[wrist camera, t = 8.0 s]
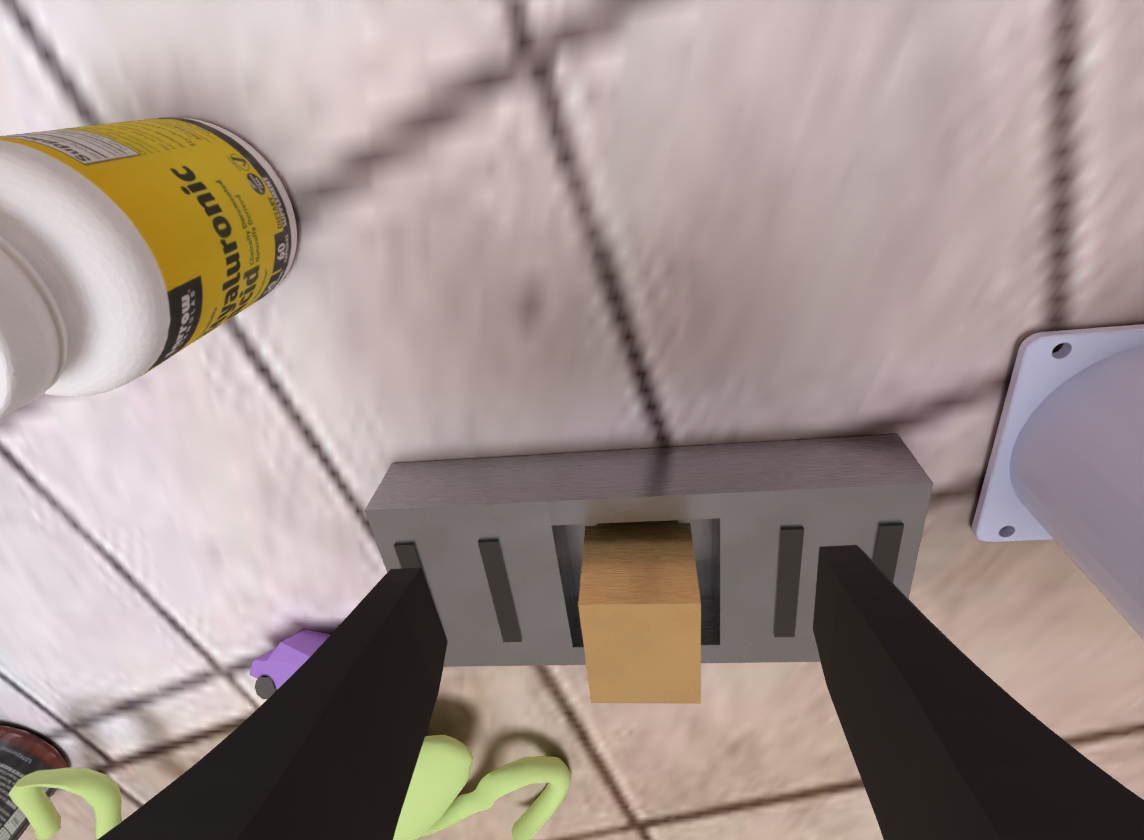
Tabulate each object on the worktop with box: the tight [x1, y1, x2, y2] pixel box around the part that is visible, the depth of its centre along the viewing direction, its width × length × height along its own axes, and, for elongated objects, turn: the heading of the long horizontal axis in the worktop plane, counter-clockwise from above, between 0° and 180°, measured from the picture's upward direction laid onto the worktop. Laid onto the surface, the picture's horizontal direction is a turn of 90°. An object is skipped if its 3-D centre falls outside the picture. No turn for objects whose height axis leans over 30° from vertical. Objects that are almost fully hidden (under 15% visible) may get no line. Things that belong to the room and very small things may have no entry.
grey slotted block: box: [365, 434, 933, 667], centre depth 23 cm, size 18×8×3 cm, turn 97°
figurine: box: [9, 629, 571, 840], centre depth 32 cm, size 18×27×6 cm
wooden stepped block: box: [578, 520, 701, 703], centre depth 21 cm, size 4×4×6 cm
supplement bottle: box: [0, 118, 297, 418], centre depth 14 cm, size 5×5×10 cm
